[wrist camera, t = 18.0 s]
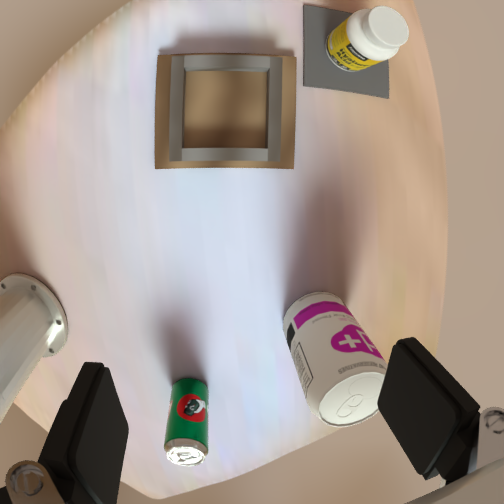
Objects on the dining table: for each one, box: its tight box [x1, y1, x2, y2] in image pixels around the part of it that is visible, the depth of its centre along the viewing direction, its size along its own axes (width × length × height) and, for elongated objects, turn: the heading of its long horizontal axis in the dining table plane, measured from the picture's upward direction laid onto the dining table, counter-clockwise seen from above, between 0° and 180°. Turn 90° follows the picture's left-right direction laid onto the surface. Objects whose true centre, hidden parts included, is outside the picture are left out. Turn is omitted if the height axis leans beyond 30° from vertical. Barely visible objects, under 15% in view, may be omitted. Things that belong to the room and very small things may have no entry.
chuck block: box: [155, 53, 296, 169], centre depth 29 cm, size 14×12×3 cm
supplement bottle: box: [325, 6, 409, 72], centre depth 24 cm, size 5×5×10 cm
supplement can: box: [283, 292, 388, 427], centre depth 32 cm, size 8×8×15 cm
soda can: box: [164, 378, 209, 466], centre depth 35 cm, size 5×5×12 cm
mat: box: [303, 5, 389, 99], centre depth 29 cm, size 10×10×1 cm
